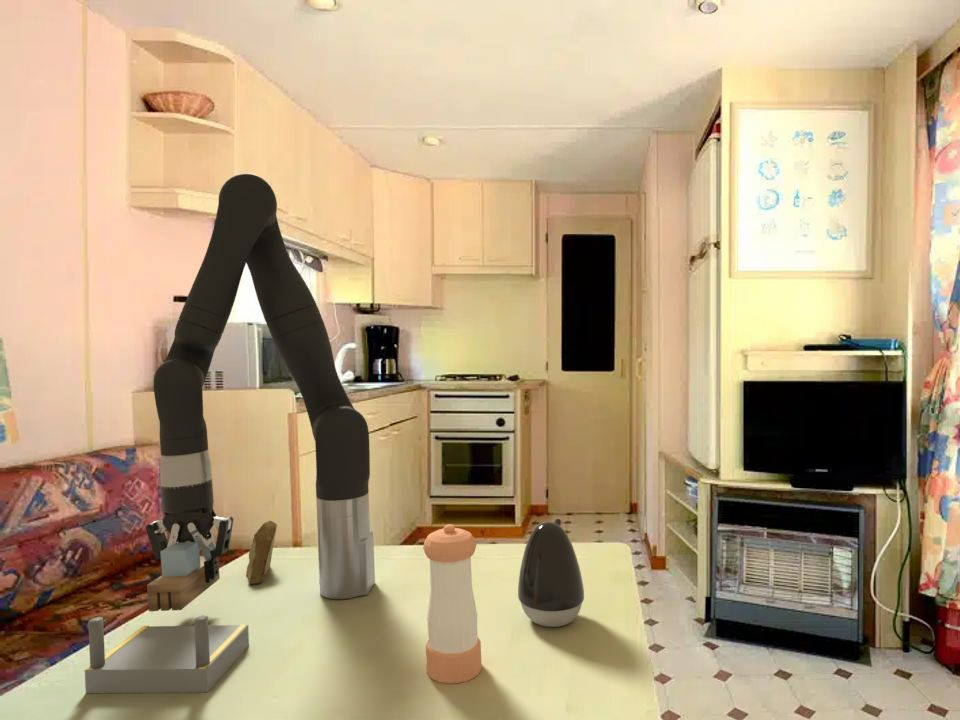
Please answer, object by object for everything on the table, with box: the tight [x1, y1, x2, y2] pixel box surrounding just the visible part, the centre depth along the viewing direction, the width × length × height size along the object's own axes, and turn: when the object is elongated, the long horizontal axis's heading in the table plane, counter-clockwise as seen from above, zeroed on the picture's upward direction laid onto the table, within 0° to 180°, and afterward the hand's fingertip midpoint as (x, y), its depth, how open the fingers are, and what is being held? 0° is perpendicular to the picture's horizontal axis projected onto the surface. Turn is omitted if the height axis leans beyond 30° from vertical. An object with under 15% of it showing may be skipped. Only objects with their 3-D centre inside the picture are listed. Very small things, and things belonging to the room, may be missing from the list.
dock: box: [84, 615, 250, 694], centre depth 81 cm, size 16×12×9 cm
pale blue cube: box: [160, 541, 201, 577], centre depth 94 cm, size 4×4×4 cm
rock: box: [245, 520, 278, 584], centre depth 115 cm, size 11×9×10 cm
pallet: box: [146, 555, 221, 612], centre depth 95 cm, size 12×5×4 cm, turn 177°
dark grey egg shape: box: [517, 518, 585, 628], centre depth 92 cm, size 10×10×15 cm
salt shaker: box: [422, 523, 483, 684], centre depth 78 cm, size 7×7×19 cm
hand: (194, 581), depth 97 cm, fingers closed on pallet, 5 cm apart
